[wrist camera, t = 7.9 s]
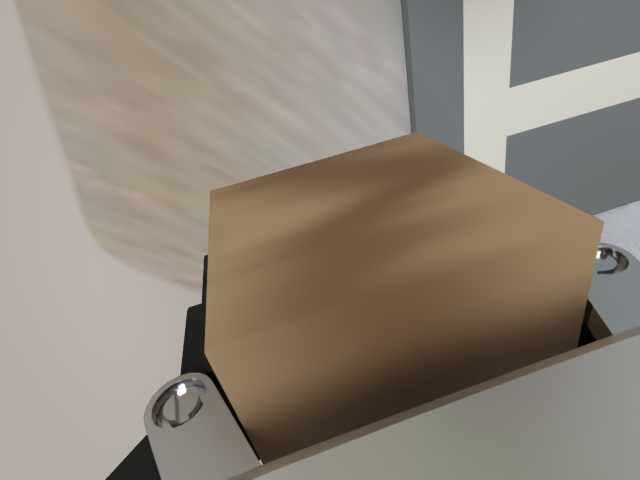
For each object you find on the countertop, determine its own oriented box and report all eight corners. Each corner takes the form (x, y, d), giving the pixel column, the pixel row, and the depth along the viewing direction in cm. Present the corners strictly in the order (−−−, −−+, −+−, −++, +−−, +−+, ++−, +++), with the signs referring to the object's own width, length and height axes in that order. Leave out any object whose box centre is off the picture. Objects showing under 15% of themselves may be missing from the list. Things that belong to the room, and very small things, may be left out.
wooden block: (417, 132, 11) (603, 221, 6) (429, 293, 14) (555, 446, 9) (210, 190, 10) (204, 353, 5) (270, 346, 13) (305, 545, 8)
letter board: (739, -141, 16) (756, -147, 16) (648, 191, 25) (658, 194, 24) (396, -63, 15) (402, -66, 14) (421, 263, 23) (426, 268, 22)
